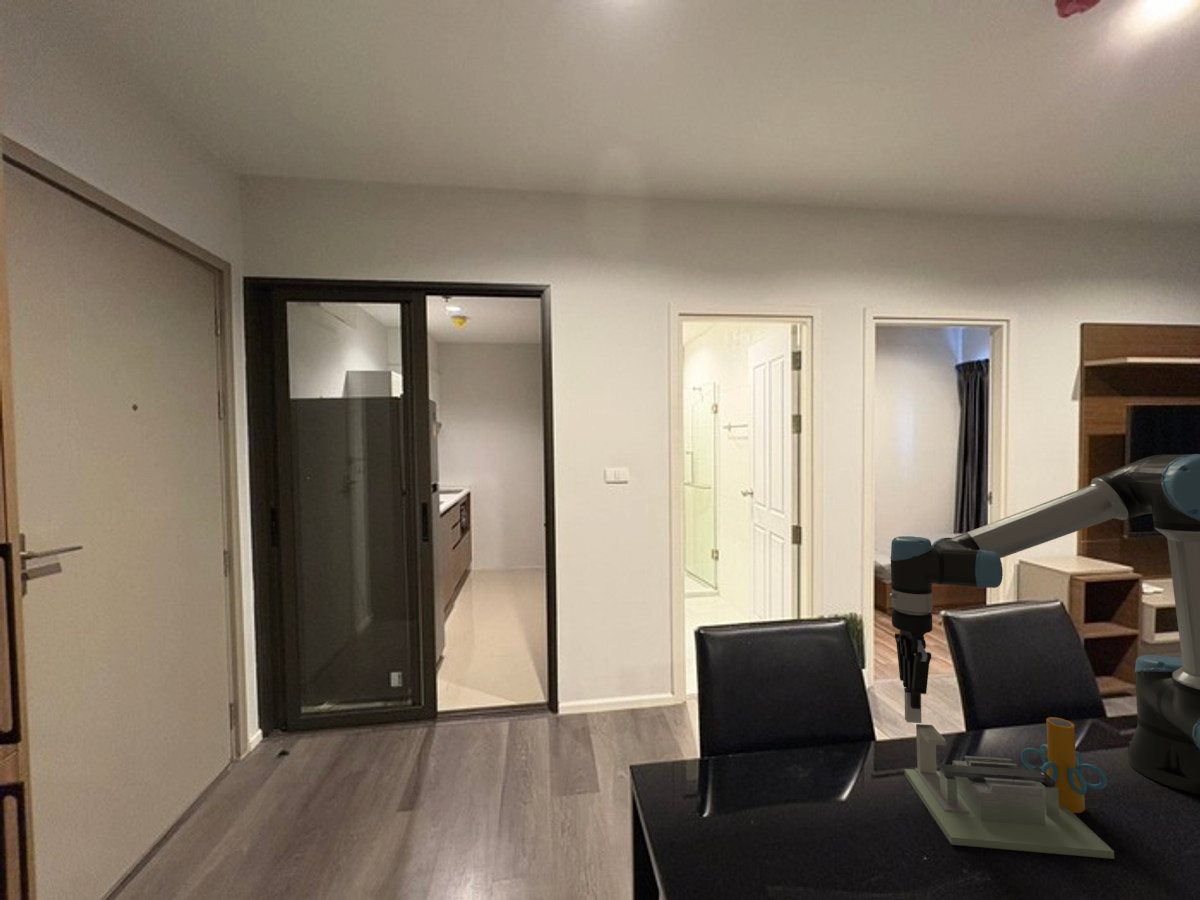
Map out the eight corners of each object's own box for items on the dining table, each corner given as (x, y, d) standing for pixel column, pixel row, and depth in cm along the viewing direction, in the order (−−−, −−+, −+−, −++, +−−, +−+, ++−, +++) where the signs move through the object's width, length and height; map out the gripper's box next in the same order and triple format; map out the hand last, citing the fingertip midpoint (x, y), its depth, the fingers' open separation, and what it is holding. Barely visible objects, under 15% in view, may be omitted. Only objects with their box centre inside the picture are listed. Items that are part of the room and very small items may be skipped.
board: (1035, 783, 106) (1035, 776, 106) (1114, 858, 86) (1113, 849, 86) (904, 774, 110) (904, 767, 110) (951, 844, 90) (951, 835, 90)
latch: (933, 768, 109) (932, 724, 109) (947, 786, 103) (945, 740, 103) (917, 767, 110) (916, 724, 110) (930, 785, 104) (929, 739, 104)
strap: (1041, 773, 99) (1040, 767, 99) (1055, 786, 95) (1055, 780, 95) (937, 766, 102) (936, 760, 102) (947, 779, 98) (946, 772, 98)
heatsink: (1034, 792, 102) (1033, 759, 102) (1071, 828, 92) (1069, 791, 92) (932, 784, 105) (931, 752, 105) (957, 819, 95) (956, 783, 95)
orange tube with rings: (1121, 829, 93) (1118, 741, 93) (1053, 823, 95) (1050, 737, 95) (1072, 786, 105) (1070, 708, 105) (1013, 781, 107) (1010, 705, 107)
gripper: (881, 601, 121) (883, 705, 121) (904, 618, 109) (906, 735, 108) (917, 602, 120) (919, 707, 120) (945, 620, 107) (946, 738, 107)
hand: (913, 720), depth 114 cm, fingers closed
